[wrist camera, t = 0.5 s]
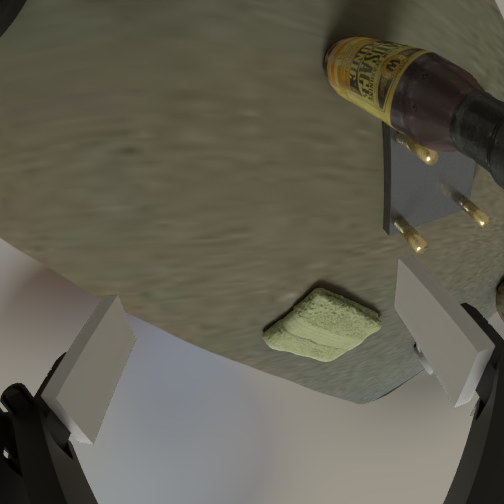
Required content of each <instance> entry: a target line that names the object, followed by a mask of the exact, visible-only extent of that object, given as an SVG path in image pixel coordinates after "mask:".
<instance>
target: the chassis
mask: <svg viewBox="0 0 504 504" xmlns="http://www.w3.org/2000/svg"><path fill="white" fill-rule="evenodd" d="M382 127H383V147H384V224H383V229H384V230H385V231H386V233H387V234H388V235H389V236H390V235H393V234H396V233H399V232H400V233H401V234H402V236H403V237H404V238H405V239H406V240H407V241H408V243H409V244H410V245H411V246H412V247H413V249H414V250H415V251H416V252H417V253H418V254H422V253H423V252H425V250H426V249H427V247H428V244H427V243H426V241H425V240H424V239H423V238H422V237H421V236H420V235H419V234H418V232H417V231H416V230H415V229H414V228H413V227H416V226H419V225H422V224H425V223H427V222H430V221H433V220H436V219H439V218H442V217H444V216H447V215H450V214H453V213H456V212H458V211H461V210H464V211H465V212H467V213H468V214H469V215H470V216H471V217H472V218H473V219H474V220H475V221H476V222H477V223H478V224H479V225H480V226H481V227H482V228H485V227H486V226H487V225H488V224H489V221H490V218H489V217H488V216H487V215H486V214H485V213H484V212H482V211H481V210H480V209H479V208H478V207H477V206H476V205H475V204H473V203H472V202H471V201H470V195H471V189H472V183H473V176H474V169H475V161H474V160H473V159H471V158H468V157H466V156H464V155H463V154H462V153H460V152H459V151H455V152H439V151H434V150H430V149H427V148H425V147H423V146H421V145H419V144H418V143H416V142H415V141H413V140H412V139H411V138H409V137H408V136H407V135H405V134H402V133H400V132H398V131H397V130H395V129H394V128H392V127H391V126H389V125H388V124H386V123H385V122H382Z"/></svg>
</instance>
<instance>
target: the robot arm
mask: <svg viewBox="0 0 504 504" xmlns="http://www.w3.org/2000/svg"><path fill="white" fill-rule="evenodd" d="M25 1H26V0H0V37H1V35H2V34H3V33H4V32H5V31H6V30H7V28H8V27H9V26H10V25H11V23H12V22H13V21H14V19H15V18H16V16H17V15H18V13H19V12H20V10H21V8H22V7H23V5H24V3H25ZM394 308H395V310H396V311H397V313H398V314H399V316H400V317H401V319H402V320H403V322H404V324H405V325H406V327H407V328H408V330H409V332H410V333H411V335H412V336H413V338H414V340H415V341H416V343H417V344H418V346H419V348H420V349H421V351H422V353H423V354H424V356H425V358H426V359H427V361H428V363H429V364H430V366H431V368H432V370H433V371H434V373H435V375H436V376H437V378H438V380H439V382H440V383H441V385H442V387H443V389H444V391H445V392H446V394H447V396H448V398H449V399H450V402H451V403H452V405H453V407H454V408H455V407H457V406H460V405H462V404H465V403H467V402H469V401H471V399H472V397H473V395H474V393H475V391H476V392H477V393H478V395H479V397H480V398H479V400H478V401H477V403H476V405H475V407H474V409H473V411H472V412H471V414H470V416H473V414H474V417H473V421H472V425H471V428H470V432H469V435H468V439H467V442H466V445H465V448H464V451H463V455H462V457H461V460H460V463H459V466H458V469H457V472H456V474H455V477H454V479H453V482H452V484H451V487H450V489H449V491H448V494H447V497H446V499H445V501H444V503H443V504H504V340H503V339H502V337H501V336H500V335H499V334H498V333H497V332H496V331H495V329H494V328H493V327H492V326H491V325H490V324H488V321H487V320H486V319H485V318H483V316H482V315H481V314H480V312H479V311H478V310H477V309H476V308H474V307H472V306H471V305H469V304H467V303H463V304H459V303H458V302H457V301H456V299H455V298H454V297H453V296H452V295H451V294H450V293H449V292H448V291H447V290H446V289H445V288H444V287H443V286H442V284H441V283H440V282H439V281H438V280H437V279H436V278H435V277H434V276H433V275H432V274H431V273H430V272H429V271H428V270H427V269H426V268H425V267H424V266H423V265H422V264H421V263H420V262H419V261H418V260H417V259H416V258H415V257H414V256H406V257H400V258H399V260H398V274H397V286H396V296H395V305H394ZM135 342H136V338H135V336H134V334H133V331H132V329H131V326H130V324H129V321H128V319H127V317H126V314H125V312H124V309H123V307H122V304H121V302H120V299H119V296H118V295H110V296H104V298H103V299H102V301H101V302H100V303H99V305H98V306H97V308H96V309H95V311H94V312H93V314H92V315H91V317H90V318H89V319H88V321H87V323H86V324H85V325H84V327H83V328H82V330H81V331H80V333H79V335H78V336H77V337H76V339H75V340H74V342H73V344H72V345H71V347H70V348H69V350H68V351H67V352H65V353H64V354H63V355H61V356H60V357H59V358H58V359H57V360H56V362H55V363H54V365H53V367H52V370H50V371H49V373H48V376H47V377H46V378H45V379H44V381H43V383H42V384H41V386H40V388H39V390H38V391H37V393H36V395H35V396H34V397H33V396H32V395H31V393H30V392H29V391H28V389H27V388H26V387H25V385H23V384H22V383H15V384H12V385H11V386H9V387H8V388H7V389H6V390H5V391H4V392H3V393H2V395H1V399H0V402H1V403H2V404H3V405H4V407H5V408H6V409H7V410H8V412H3V411H2V409H1V408H0V504H98V503H97V501H96V499H95V497H94V494H93V492H92V490H91V488H90V486H89V484H88V482H87V479H86V477H85V475H84V473H83V470H82V468H81V466H80V463H79V461H78V458H77V455H76V453H75V450H74V448H73V445H72V444H71V442H70V441H69V440H68V439H69V436H70V434H72V435H73V436H74V437H75V438H76V440H77V441H78V442H82V443H88V444H94V442H95V439H96V437H97V434H98V432H99V429H100V426H101V424H102V421H103V418H104V416H105V413H106V410H107V408H108V406H109V403H110V401H111V398H112V396H113V393H114V391H115V388H116V386H117V383H118V381H119V378H120V376H121V374H122V371H123V369H124V367H125V364H126V362H127V360H128V357H129V355H130V353H131V351H132V348H133V346H134V344H135ZM474 412H475V413H474ZM4 450H5V451H6V452H7V453H8V459H7V458H6V457H5V456H4V454H3V453H4Z"/></svg>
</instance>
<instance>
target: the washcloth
mask: <svg viewBox="0 0 504 504" xmlns="http://www.w3.org/2000/svg"><path fill="white" fill-rule="evenodd" d="M380 328H381V321H379V320H378V314H377V313H376V311H373V310H371V309H369V308H367V307H364V306H362V305H360V304H359V303H356V302H354V301H352V300H349V299H348V298H345V297H343V296H342V295H338V294H335V293H333V292H332V291H328V290H326V289H324V288H315V289H314V290H313V291H312V292H311V293H310V294H308V296H307V297H306V298H305V299H304V300H302V301H301V302H300V303H298V304H297V305H296V306H294V309H293V311H291V312H290V313H289V314H287V315H286V317H284V318H283V319H280V320H278V322H276V323H275V325H272V327H270V328H269V329H266V331H265V332H264V334H263V336H262V337H263V339H264V340H265V342H266V343H267V344H268V345H269V347H270V348H273V349H276V350H281V351H288V352H292V353H294V354H297V355H302V356H306V357H311V358H313V359H317V360H319V361H324V362H327V361H332V360H334V359H336V358H338V357H339V356H340V355H342V354H343V353H345V352H347V351H348V350H351V349H352V348H354V347H356V346H358V345H359V344H361V343H362V341H363V340H364V339H365V338H366V337H367V336H368V335H370V334H372V333H374V332H376V331H378V330H379V329H380Z"/></svg>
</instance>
